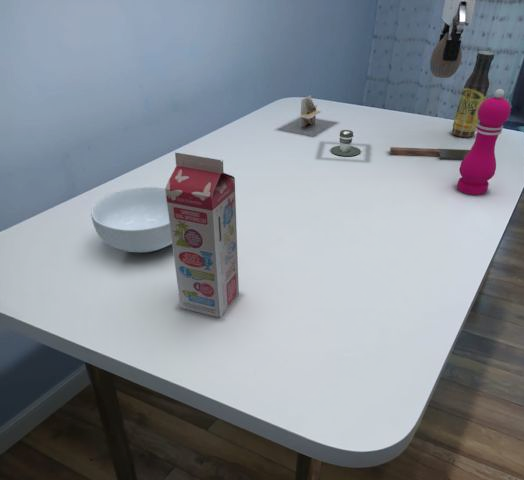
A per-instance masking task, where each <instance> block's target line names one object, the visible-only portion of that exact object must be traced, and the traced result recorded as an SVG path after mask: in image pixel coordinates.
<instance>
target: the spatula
mask: <svg viewBox="0 0 524 480" xmlns="http://www.w3.org/2000/svg"><path fill="white" fill-rule="evenodd" d="M470 150H471V149H458V148H457V149H454V148H425V147H423V148H422V147H401V146H400V147H399V146H397V147H395V146H391V147H390V146H389V154H390V155H391V156H392V155H393V156H419V157H421V156H422V157H438V158H439V159H440V160H448V161H449V160H450V161H463V159H464V157H465V156H466V155H467V154H468V152H469V151H470Z"/></svg>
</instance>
